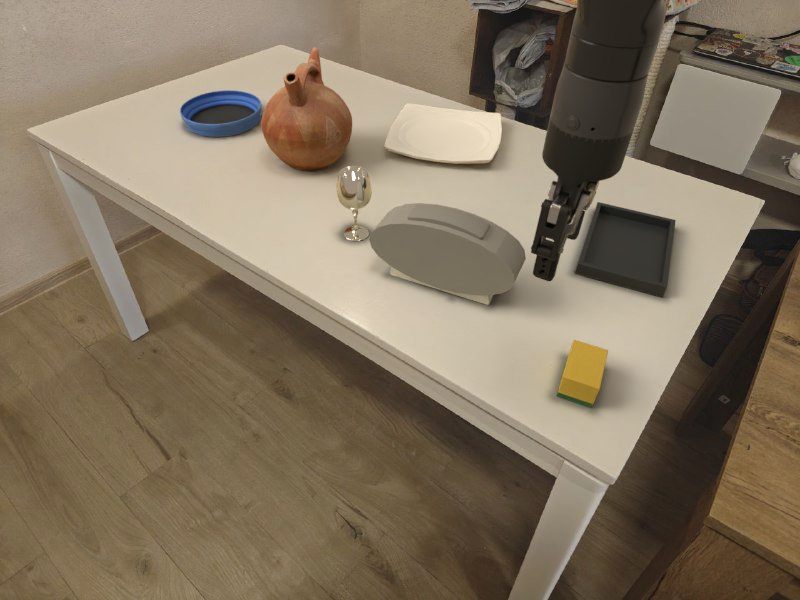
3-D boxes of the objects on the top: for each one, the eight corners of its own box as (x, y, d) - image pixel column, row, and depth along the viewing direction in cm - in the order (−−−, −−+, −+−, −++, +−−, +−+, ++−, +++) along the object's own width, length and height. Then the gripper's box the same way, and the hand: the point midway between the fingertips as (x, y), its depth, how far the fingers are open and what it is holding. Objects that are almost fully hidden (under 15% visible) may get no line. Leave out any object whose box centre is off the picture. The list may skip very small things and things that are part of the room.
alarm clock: (519, 289, 86) (534, 222, 77) (508, 314, 82) (522, 246, 73) (386, 250, 93) (386, 184, 84) (370, 271, 89) (367, 204, 80)
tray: (594, 211, 102) (597, 201, 100) (671, 229, 98) (675, 219, 96) (574, 273, 89) (577, 263, 87) (662, 297, 85) (667, 287, 83)
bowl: (205, 101, 135) (202, 86, 132) (274, 108, 132) (272, 94, 130) (168, 134, 122) (164, 119, 119) (244, 143, 119) (241, 127, 117)
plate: (494, 175, 111) (496, 163, 109) (377, 160, 114) (377, 148, 113) (504, 122, 128) (506, 111, 126) (402, 111, 132) (403, 100, 130)
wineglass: (354, 220, 99) (350, 160, 91) (379, 231, 96) (378, 171, 88) (333, 235, 95) (327, 174, 87) (358, 247, 93) (355, 186, 85)
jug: (289, 131, 123) (277, 38, 110) (365, 143, 120) (362, 48, 106) (252, 172, 110) (232, 72, 97) (336, 186, 107) (328, 84, 93)
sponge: (567, 358, 76) (573, 339, 73) (600, 369, 74) (608, 349, 71) (556, 396, 71) (563, 376, 68) (591, 408, 70) (599, 388, 67)
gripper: (613, 161, 44) (568, 305, 55) (651, 98, 53) (606, 233, 64) (525, 138, 47) (499, 280, 58) (575, 82, 56) (545, 214, 67)
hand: (555, 255), depth 61 cm, fingers open, 8 cm apart
